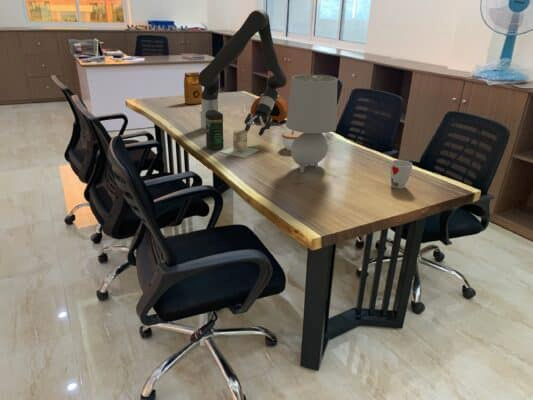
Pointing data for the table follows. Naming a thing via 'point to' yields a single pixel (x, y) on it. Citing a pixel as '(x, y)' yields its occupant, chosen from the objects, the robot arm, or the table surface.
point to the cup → (400, 173)
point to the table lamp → (311, 116)
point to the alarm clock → (274, 108)
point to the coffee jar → (214, 129)
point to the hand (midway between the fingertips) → (252, 133)
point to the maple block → (240, 141)
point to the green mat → (243, 155)
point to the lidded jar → (289, 138)
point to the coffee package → (192, 88)
